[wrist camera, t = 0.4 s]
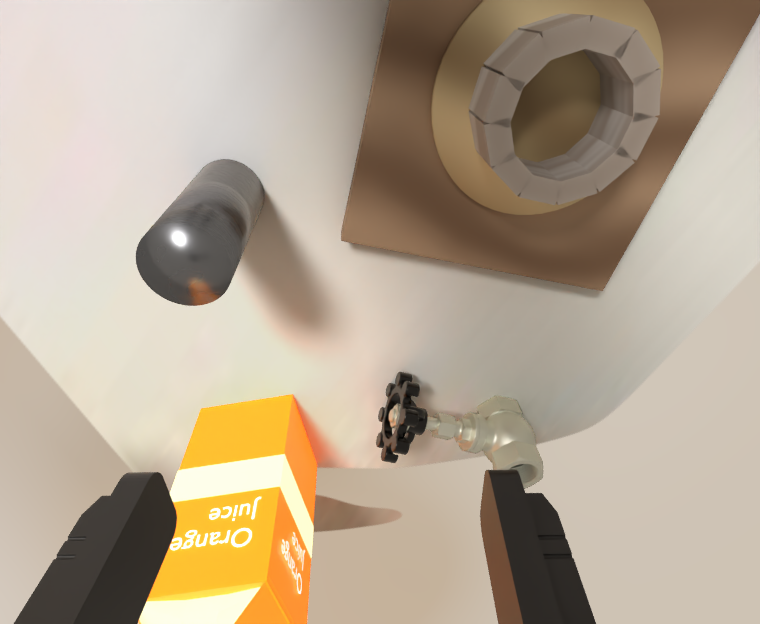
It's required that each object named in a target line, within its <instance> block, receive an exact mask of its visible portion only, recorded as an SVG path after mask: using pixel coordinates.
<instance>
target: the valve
mask: <svg viewBox="0 0 760 624" xmlns="http://www.w3.org/2000/svg"><path fill="white" fill-rule="evenodd" d="M409 381H410V382H409ZM419 390H420V386H419V384H417V383H413V382H412V375H411V374H408V373H404V372H398V374H397V376H396V380H395V384H392V383H389V384H388V386H387V389H386V396H387V397H388V400H387V404H386V407H385V408H384V407H382V408H381V409H380V411H379V415H378V419H379V421H380V422H382V431H381V432H380V433H379V434H378V436H377V440H376V445H377V447H379V448H383V449H382V453H381V459H382V461H386V462H391V463H396V461H397V459H398V455H395V454H393V452H394V453H399V454H404V455H406V454H407V453H408V450H409V446H410V443H411V442H412V441H413V439H414V437H415V434H416V435H422V434H423V432H424V431H425V429H426V430H430V431H431V434H432V436H433V437H435V438H440V439H445V440H449V439H451V438H453V437H454V438H455V440H456V442H458V443H459V446H460V448H461V450H463V451H465V452H471V453H478V452H480V451H481V450H482V451H484V453H485V455H486V456H487V458H488V459H489V460H490V461H491V462H492V463H493V470H517V471H518V472H519V474H520V477H521V481H522V484H523V487H524V489H525V488H528V487H530V486H532V485H534V484H535V483H537V482H538V481H540V480H541V479H542V478H543V462H542V459H541V457H540V454H539V452H538V450H537V447H536V439H535V434H534V432H533V430H532V428H531V426H530V425H529V424H528V422H527V421H526V420H525V419H523V418H522V412H521V410H520V407H519V405H518V403H517V400H515V399H511V398H506V397H502V396H498V395H496V396H494V397H492V398H490V399H489V400H487V401H486V402H484V403H482V404H481V405H479V406H478V407H477V411H478V414H475V413H471V412H469V413H467V414H465V415H464V417H463V418H461V419H459V420H457V422H456V421H455V417H454V416H451V415H447V414H442V413H437V414H435V415H434V417H429V416H428V415H427V411H426V409H423V408H419V407H417V406H416V404H415V403H414V402H413V401H412V400H411V396H415V397H418V395H419ZM397 403H398V404H397ZM396 404H397V405H396ZM399 404H401V405H399ZM392 428H396V430H395V432H394V434H393V435H392ZM406 432H407V433H406ZM405 434H406V436H405ZM404 436H405V437H404Z"/></svg>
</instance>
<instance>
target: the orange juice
mask: <svg viewBox="0 0 760 624" xmlns="http://www.w3.org/2000/svg"><path fill="white" fill-rule="evenodd" d="M316 472H317V463H316V460H315V457H314V454H313V451H312V449H311V446H310V443H309V440H308V437H307V434H306V431H305V428H304V426H303V423H302V420H301V417H300V414H299V411H298V408H297V406H296V403H295V400H294V397H293V394H292V395H286V396H279V397H273V398H266V399H260V400H253V401H247V402H241V403H234V404H228V405H221V406H215V407H209V408H202V409H201V410H200V413H199V416H198V419H197V422H196V424H195V427H194V430H193V433H192V436H191V438H190V441H189V444H188V447H187V449H186V452H185V455H184V458H183V461H182V463H181V466H180V469H179V470H178V472H177V475H176V478H175V480H174V483H173V486H172V489H171V492H170V496H171V498H172V501H173V503H174V506H175V508H176V512H177V525H176V531H175V534H174V537H173V540H172V542H171V544H170V547H169V549H168V552H167V554H166V556H165V559H164V561H163V564H162V566H161V568H160V571H159V573H158V575H157V578H156V580H155V583H154V585H153V587H152V590H151V592H150V595H149V597H148V599H147V602H146V604H145V607H144V609H143V611H142V614H141V616H140V619H139V621H138V623H139V624H307V613H308V598H309V597H308V596H309V582H310V566H311V558H312V545H313V530H314V526H313V520H314V505H315V490H316V489H315V488H316V474H317V473H316Z"/></svg>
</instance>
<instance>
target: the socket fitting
mask: <svg viewBox="0 0 760 624" xmlns="http://www.w3.org/2000/svg"><path fill="white" fill-rule="evenodd" d="M759 14H760V0H389V5H388V10H387V15H386V19H385V24H384V29H383V34H382V39H381V43H380V48H379V53H378V58H377V63H376V67H375V72H374V77H373V82H372V87H371V91H370V96H369V101H368V106H367V111H366V115H365V120H364V125H363V130H362V135H361V139H360V144H359V149H358V154H357V159H356V163H355V168H354V173H353V178H352V183H351V187H350V192H349V197H348V202H347V207H346V211H345V216H344V221H343V226H342V231H341V241H345V242H351V243H356V244H361V245H366V246H371V247H377V248H382V249H387V250H392V251H397V252H403V253H408V254H413V255H418V256H423V257H428V258H434V259H439V260H444V261H449V262H454V263H460V264H465V265H470V266H475V267H480V268H486V269H491V270H496V271H501V272H506V273H512V274H517V275H522V276H527V277H532V278H538V279H543V280H548V281H553V282H558V283H563V284H569V285H574V286H579V287H584V288H589V289H595V290H600V291H603V289H604V288H605V286H606V284H607V282H608V281H609V279H610V277H611V275H612V274H613V272H614V270H615V268H616V267H617V265H618V263H619V261H620V259H621V258H622V256H623V254H624V252H625V251H626V249H627V247H628V245H629V244H630V242H631V240H632V238H633V237H634V235H635V233H636V231H637V229H638V228H639V226H640V224H641V222H642V221H643V219H644V217H645V215H646V214H647V212H648V210H649V208H650V207H651V205H652V203H653V201H654V199H655V198H656V196H657V194H658V192H659V191H660V189H661V187H662V185H663V184H664V182H665V180H666V178H667V177H668V175H669V173H670V171H671V169H672V168H673V166H674V164H675V162H676V161H677V159H678V157H679V155H680V154H681V152H682V150H683V148H684V147H685V145H686V143H687V141H688V139H689V138H690V136H691V134H692V132H693V131H694V129H695V127H696V125H697V124H698V122H699V120H700V118H701V116H702V115H703V113H704V111H705V109H706V108H707V106H708V104H709V102H710V101H711V99H712V97H713V95H714V94H715V92H716V90H717V88H718V86H719V85H720V83H721V81H722V79H723V78H724V76H725V74H726V72H727V71H728V69H729V67H730V65H731V64H732V62H733V60H734V58H735V56H736V55H737V53H738V51H739V49H740V48H741V46H742V44H743V42H744V41H745V39H746V37H747V35H748V34H749V32H750V30H751V28H752V26H753V25H754V23H755V21H756V19H757V18H758V16H759Z"/></svg>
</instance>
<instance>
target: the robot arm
mask: <svg viewBox="0 0 760 624" xmlns="http://www.w3.org/2000/svg"><path fill="white" fill-rule="evenodd" d="M480 517H481V529H482V537H483V542H484V548H485V553H486V558H487V564H488V570H489V575H490V580H491V586H492V591H493V597H494V601H495V607H496V613H497V618H498V623H499V624H596V622H595V619H594V616H593V613H592V611H591V608H590V605H589V602H588V599H587V596H586V593H585V590H584V588H583V585H582V582H581V579H580V576H579V573H578V570H577V567H576V565H575V562H574V559H573V558H572V553H571V550H570V548H569V544H568V542H567V540H566V538H565V533H564V530H563V527H562V524H561V521H560V519H559V516H558V513H557V511H556V510H555V509H554V508H553V506H552V505H551V504H550V503H549V502H548V500H547V499H546V498H545V497H544V495H543V494H542V493H525V491H524V487H523V484H522V481H521V477H520V474H519V472H518V471H517V470H486V471H485V477H484V485H483V493H482V501H481V511H480ZM176 525H177V512H176V508H175V506H174V503H173V501H172V498H171V496H170V493H169V491H168V488H167V486H166V484H165V481H164V479H163V476H162V475H161V474H160V473H158V472H142V473H126V474H125V475H124V476H123V477H122V478H121V479H120V481H119V482H118V484H117V486H116V487H115V489H114V491H113V493H112V494H111V496H101V497H100V498H99V499H98V500H97V501H96V502H95V503H94V504H93V505H92V506H91V507H90V508H89V509H87V510H86V511H85V512H84V513H83V514H82V515H81V517H80V518H79V520H78V522H77V523H76V525H75V526H74V528H73V530H72V531H71V533H70V534H69V536H68V540H67V541H65V543H64V544H63V546H62V547H61V549H60V550H59V552H58V554H57V558H56V559H54V560H53V562H52V563H51V565H50V566H49V568H48V570H47V571H46V573H45V574H44V576H43V578H42V579H41V581H40V582H39V584H38V586H37V587H36V589H35V591H34V592H33V594H32V595H31V597H30V598H29V600H28V602H27V603H26V605H25V606H24V608H23V610H22V611H21V613H20V614H19V616H18V618H17V619H16V621H15V622H14V624H137V623H138V621H139V619H140V616H141V614H142V611H143V609H144V607H145V604H146V602H147V599H148V597H149V595H150V592H151V590H152V587H153V585H154V583H155V580H156V578H157V575H158V573H159V571H160V568H161V566H162V564H163V561H164V559H165V556H166V554H167V552H168V549H169V547H170V544H171V542H172V540H173V537H174V534H175V531H176Z"/></svg>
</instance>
